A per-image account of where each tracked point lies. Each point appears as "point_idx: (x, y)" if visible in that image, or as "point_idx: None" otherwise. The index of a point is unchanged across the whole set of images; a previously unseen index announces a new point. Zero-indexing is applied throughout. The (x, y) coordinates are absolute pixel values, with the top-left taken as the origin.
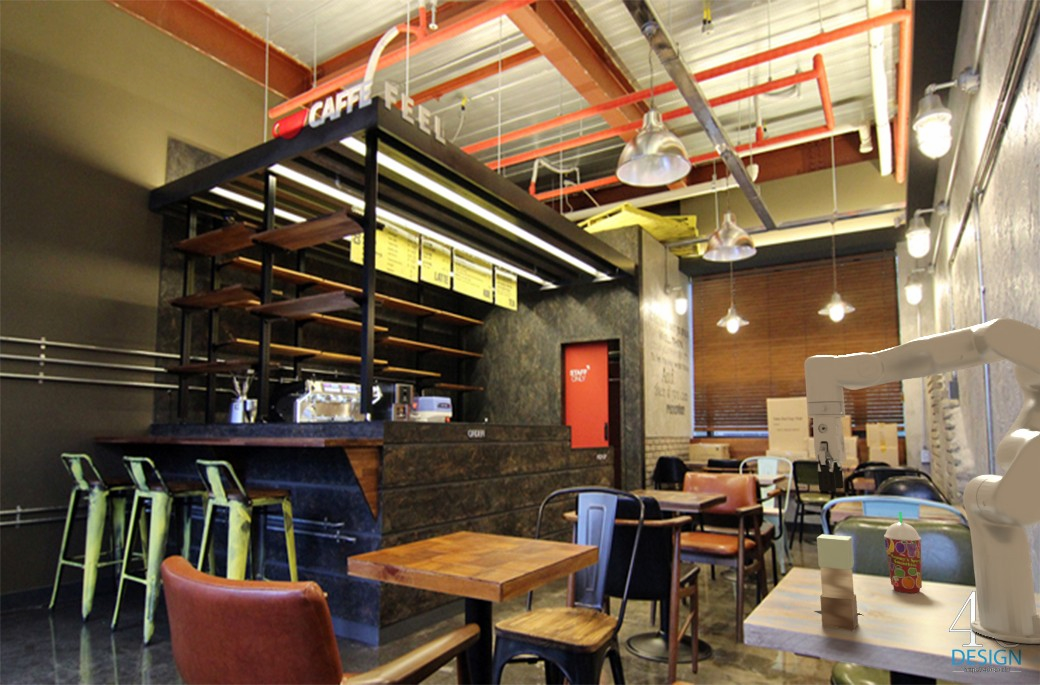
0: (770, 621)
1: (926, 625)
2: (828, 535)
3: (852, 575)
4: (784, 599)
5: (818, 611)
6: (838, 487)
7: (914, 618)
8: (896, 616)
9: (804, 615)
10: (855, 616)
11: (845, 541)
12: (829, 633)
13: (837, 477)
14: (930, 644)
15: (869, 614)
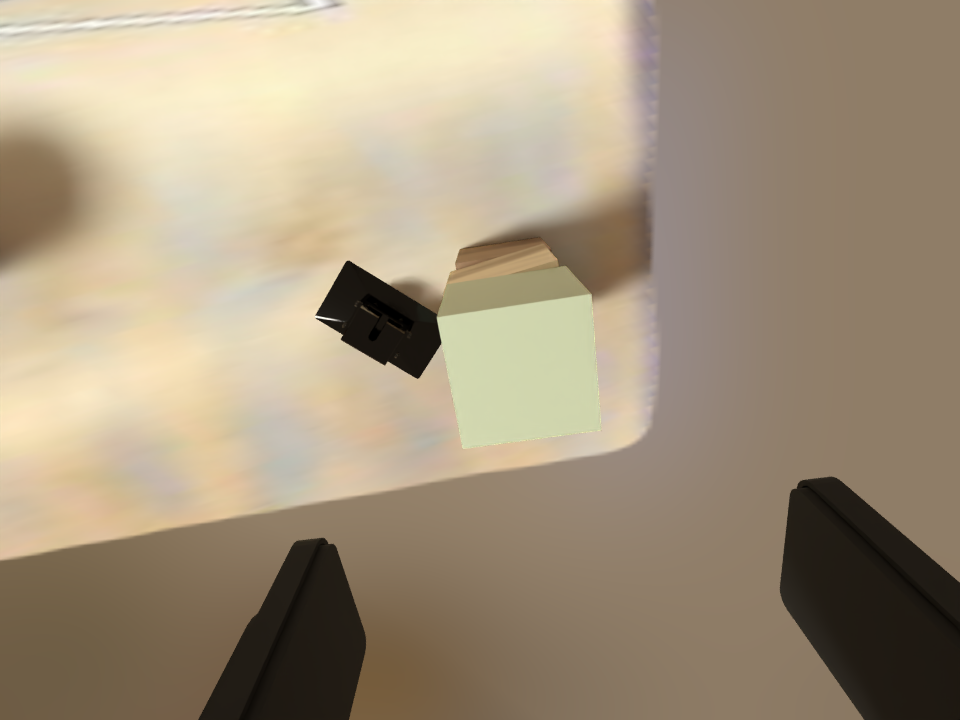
0: None
1: (324, 83)
2: (483, 414)
3: (490, 272)
4: (355, 470)
5: (415, 367)
6: (343, 571)
7: (267, 135)
8: (289, 186)
9: None
10: (496, 248)
11: (591, 302)
12: (611, 277)
13: (304, 680)
14: (537, 19)
15: (331, 254)
